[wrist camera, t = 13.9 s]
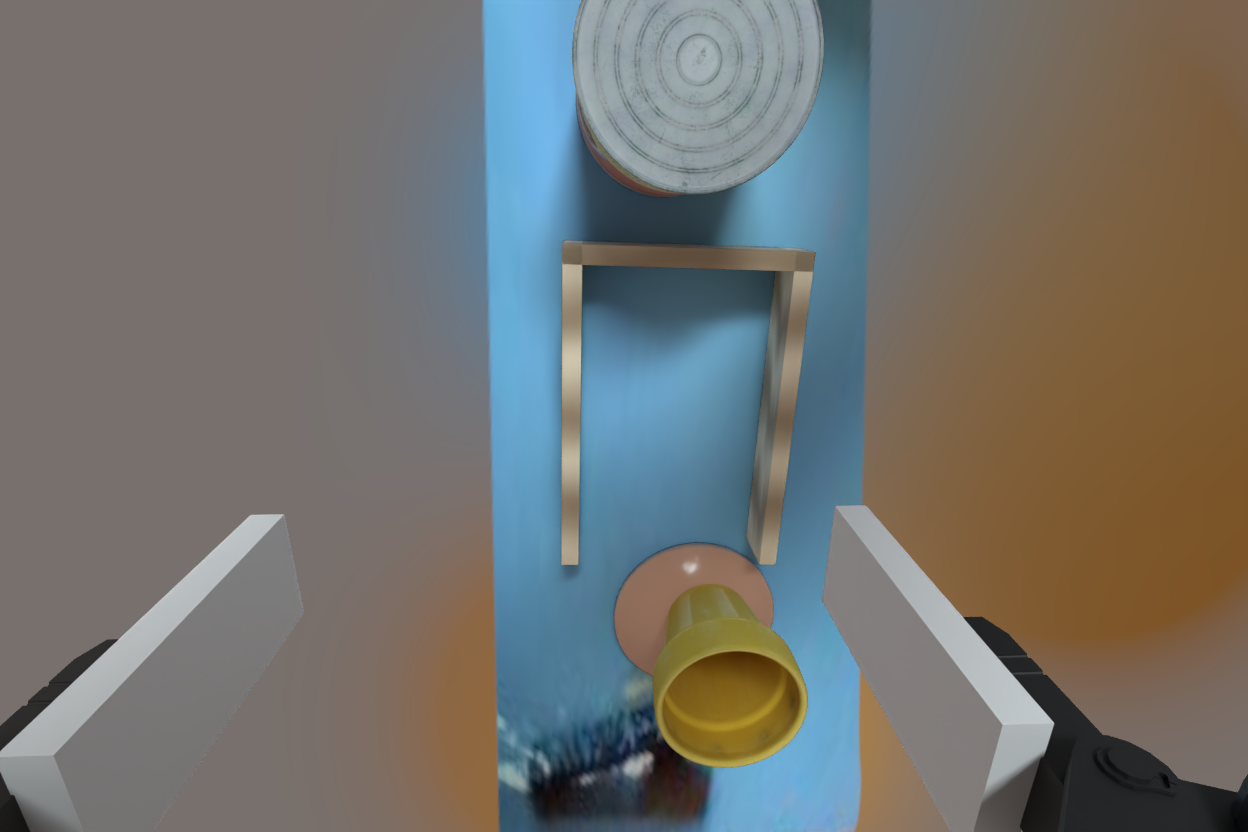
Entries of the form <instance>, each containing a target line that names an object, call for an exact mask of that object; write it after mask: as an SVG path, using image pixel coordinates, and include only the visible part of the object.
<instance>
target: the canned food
mask: <svg viewBox="0 0 1248 832" xmlns="http://www.w3.org/2000/svg"><path fill="white" fill-rule="evenodd" d="M823 59H824V36H823V25H822V19H821V13H820V9H819V5H818V1H817V0H582V1H581V3H580V6H579V10H578V14H577V18H576V22H575V28H574V34H573V46H572V65H573V75H574V82H575V87H576V107H577V116H578V121H579V125H580V129H581V132H582V135H583V138H584V140H585V143H586V145H587V147H588V149H589V151H590V152H591V154H592V156H593V157H594V159H595V160H596V161H597V163H598V164H599V165H600V167H601V168H602V169H603V170H604V171H605V172H606V173H607V174H608V175H609V176H610V177H611V178H613V179H614V180H615V181H617V182H618V183H619V184H621V185H623V186H625V187H626V188H628V189H630V190H633V191H635V192H638V193H641V194H644V195H649V196H655V197H675V196H681V195H686V194H709V193H715V192H720V191H724V190H727V189H730V188H733V187H736V186H738V185H741V184H743V183H745V182H747V181H749V180H751V179H752V178H754V177H756V176H757V175H759V174H760V173H762V172H763V171H765V170H766V169H767V168H768V167H770V166H771V165H772V164H773V163H775V162H776V161H777V160H778V159H779V158H780V157H781V156H782V155H783V154H784V152H785V151H786V150H787V149H788V148H789V147H790V145H791V144H792V143H793V141H794V140H795V138H796V137H797V136H798V134H799V133H800V131H801V129H802V127H803V126H804V124H805V122H806V120H807V118H808V116H809V114H810V112H811V110H812V107H813V104H814V101H815V99H816V96H817V92H818V88H819V85H820V80H821V75H822V68H823Z"/></svg>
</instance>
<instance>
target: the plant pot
mask: <svg viewBox="0 0 1248 832" xmlns="http://www.w3.org/2000/svg"><path fill="white" fill-rule="evenodd" d="M653 700H654V709H655V716H656V721H657V725H658V728H659V730H660V732H661V734H662V736H663V738H664V739H665V741H666V742H667V743H668V744H669V746H670V747H671V748H672V749H673V750H675V751H676V752H677V753H679V754H680V755H681V756H683V757H685V758H686V759H688V760H690V761H693V762H695V763H698V764H702V765H706V766H711V767H721V768H725V767H740V766H745V765H749V764H753V763H756V762H759V761H761V760H764V759H766V758H768V757H770V756H772V755H773V754H775V753H777V752H778V751H780V750H781V749H782V748H784V747H785V746H786V745H787V744H788V743H789V742H790V741H791V740H792V739H793V738H794V737H795V735H796V734H797V732H798V731H799V729H800V728H801V726H802V724H803V722H804V719H805V716H806V712H807V707H808V695H807V689H806V685H805V682H804V679H803V677H802V674H801V672H800V669H799V667H798V665H797V663H796V661H795V659H794V657H793V655H792V653H791V651H790V649H789V647H788V646H787V644H786V643H785V642H784V640H783V639H782V638H781V637H780V636H779V635H778V634H777V633H776V632H774V631H773V630H772V629H770V628H769V627H767V626H765V625H763V624H762V623H761V621H760V620H759V619H758V617H757V616H756V615H755V614H754V612H753V611H752V610H751V608H750V607H749V606H748V604H747V603H746V602H745V600H744V599H743V598H742V597H741V596H740V595H739V594H738V593H737V592H736V591H734V590H732V589H731V588H728V587H726V586H722V585H717V584H704V585H699V586H696V587H693V588H691V589H689V590H687V591H685V592H684V593H683V594H681V595H680V596H679V597H678V598H677V599H676V600H675V601H674V603H673V604H672V606H671V608H670V610H669V614H668V618H667V626H666V633H665V641H664V648H663V649H662V651H661V653H660V654H659V656H658V659H657V661H656V664H655V667H654V671H653Z"/></svg>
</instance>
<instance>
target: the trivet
mask: <svg viewBox="0 0 1248 832" xmlns="http://www.w3.org/2000/svg"><path fill="white" fill-rule="evenodd" d="M704 584H717V585H722V586H726V587H728V588H731V589H732V590H734V591H736V592H737V593H738V594H739V595H740V596H741V597H742V598H743V599H744V600H745V602H746V603H747V604H748V606H749V607H750V608H751V610H752V611H753V612H754V614H755V615H756V616H757V617H758V619H759V620H760V621H761V623H762V624H763V625H765V626H767V627H769V628H770V629H771V626H772V622H773V615H774V605H773V599H772V595H771V592H770V589H769V587H768V584H767V582H766V580H765V578H764V576H763V575H762V573H761V572H760V570H759V569H758V568H757V567H756V566H755V565H754V564H753V563H752V562H751V561H750V560H749V559H748V558H746V557H745V556H744V555H742V554H740V553H738V552H737V551H735V550H732V549H730V548H728V547H725V546H721V545H717V544H711V543H686V544H681V545H676V546H672V547H669V548H666V549H663V550H661V551H659V552H657V553H655V554H653V555H652V556H650V557H648V558H647V559H645V560H644V561H643V562H641V563H640V564H639V565H638V566H637V567H636V568H635V569H634V570H633V571H632V572H631V573H630V574H629V576H628V577H627V578H626V580H625V581H624V583H623V585H622V586H621V588H620V590H619V593H618V596H617V599H616V603H615V611H614V620H615V631H616V635H617V639H618V641H619V643H620V646H621V648H622V649H623V651H624V653H625V654H626V655H627V657H628V658H629V659H630V660H631V661H632V662H633V663H634V664H635V665H636V666H637V667H639V668H640V669H642V670H643V671H645V672H646V673H648V674H650V675H652V676H653V671H654V667H655V664H656V661H657V659H658V656H659V654H660V653H661V651H662V649H663V648H664V641H665V633H666V626H667V618H668V614H669V610H670V608H671V606H672V604H673V603H674V601H675V600H676V599H677V598H678V597H679V596H680V595H681V594H683V593H684V592H685V591H687V590H689V589H691V588H693V587H696V586H699V585H704Z"/></svg>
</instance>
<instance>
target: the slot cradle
mask: <svg viewBox="0 0 1248 832" xmlns="http://www.w3.org/2000/svg"><path fill="white" fill-rule="evenodd" d="M815 254H816V252H813V251H808V250H803V249H798V248H785V247H754V246H723V245H693V244H662V243H632V242H601V241H571V240H565V241H564V242H563V251H562V565H578V558H579V494H580V417H581V340H582V265H602V266H635V267H668V268H701V269H734V270H767V271H775V278H774V287H773V296H772V305H771V314H770V323H769V332H768V341H767V351H766V360H765V369H764V378H763V387H762V396H761V405H760V414H759V423H758V433H757V442H756V451H755V460H754V469H753V478H752V487H751V496H750V505H749V515H748V524H747V533H746V538H747V540H748V542H749V544H750V546H751V548H752V550H753V552H754V555H755V557H756V559H757V561H758V563H759V565H775V564H776V556H777V549H778V541H779V533H780V525H781V518H782V510H783V502H784V494H785V486H786V479H787V471H788V463H789V455H790V448H791V440H792V432H793V424H794V417H795V409H796V401H797V393H798V386H799V378H800V370H801V362H802V355H803V347H804V339H805V331H806V323H807V316H808V308H809V300H810V292H811V285H812V277H813V269H814V261H815Z"/></svg>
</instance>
